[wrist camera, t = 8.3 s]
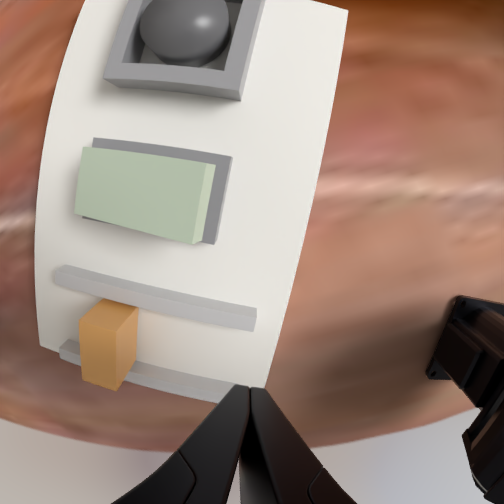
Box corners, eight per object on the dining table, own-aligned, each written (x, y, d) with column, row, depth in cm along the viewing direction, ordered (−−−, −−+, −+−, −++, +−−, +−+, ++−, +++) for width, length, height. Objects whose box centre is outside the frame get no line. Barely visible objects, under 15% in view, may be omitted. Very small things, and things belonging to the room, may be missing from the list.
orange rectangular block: (138, 304, 16) (116, 331, 13) (135, 359, 17) (116, 391, 14) (105, 295, 16) (78, 320, 13) (105, 350, 17) (82, 379, 14)
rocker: (215, 164, 12) (206, 163, 11) (201, 240, 13) (192, 244, 12) (96, 147, 13) (82, 146, 12) (87, 211, 14) (73, 213, 13)
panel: (339, 25, 15) (358, -7, 11) (259, 385, 20) (259, 426, 16) (102, 2, 14) (75, -24, 10) (54, 332, 19) (24, 359, 16)
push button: (238, 7, 13) (236, -13, 11) (221, 73, 13) (215, 59, 12) (164, 2, 12) (153, -16, 10) (143, 66, 13) (129, 53, 11)
